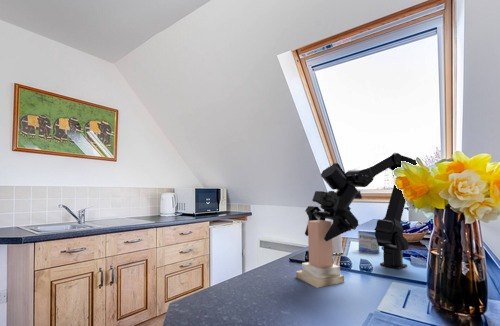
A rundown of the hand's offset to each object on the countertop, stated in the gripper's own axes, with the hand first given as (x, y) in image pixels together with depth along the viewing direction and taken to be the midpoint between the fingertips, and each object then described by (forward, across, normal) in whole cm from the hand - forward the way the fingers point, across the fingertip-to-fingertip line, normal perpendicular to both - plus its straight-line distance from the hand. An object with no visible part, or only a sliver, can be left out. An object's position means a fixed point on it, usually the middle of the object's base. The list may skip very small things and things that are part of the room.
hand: (315, 237), depth 87 cm
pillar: (+5, 0, +7) cm, 8 cm away
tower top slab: (+6, 0, +9) cm, 11 cm away
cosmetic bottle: (-11, -24, +29) cm, 39 cm away
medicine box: (-22, -19, +40) cm, 49 cm away
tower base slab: (+8, 0, +10) cm, 13 cm away
